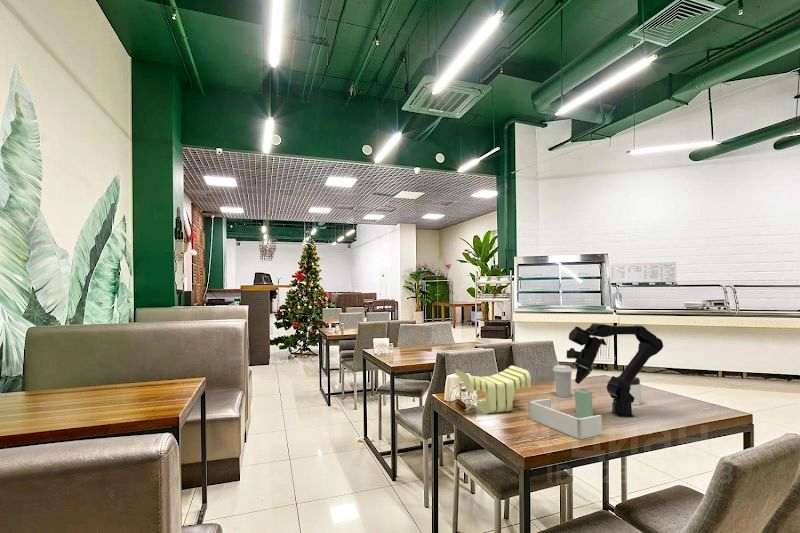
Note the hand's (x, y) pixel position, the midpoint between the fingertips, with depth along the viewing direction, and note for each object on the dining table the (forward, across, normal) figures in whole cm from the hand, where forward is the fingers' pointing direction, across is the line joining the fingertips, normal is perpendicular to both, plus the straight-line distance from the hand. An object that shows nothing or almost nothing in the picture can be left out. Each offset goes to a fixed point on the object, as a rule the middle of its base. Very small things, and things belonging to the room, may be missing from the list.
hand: (576, 382), depth 165 cm
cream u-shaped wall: (+18, +12, +3) cm, 21 cm away
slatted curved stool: (+28, +2, -27) cm, 39 cm away
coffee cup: (+8, -35, -5) cm, 36 cm away
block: (+13, +3, +8) cm, 16 cm away
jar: (-3, -36, +22) cm, 42 cm away
